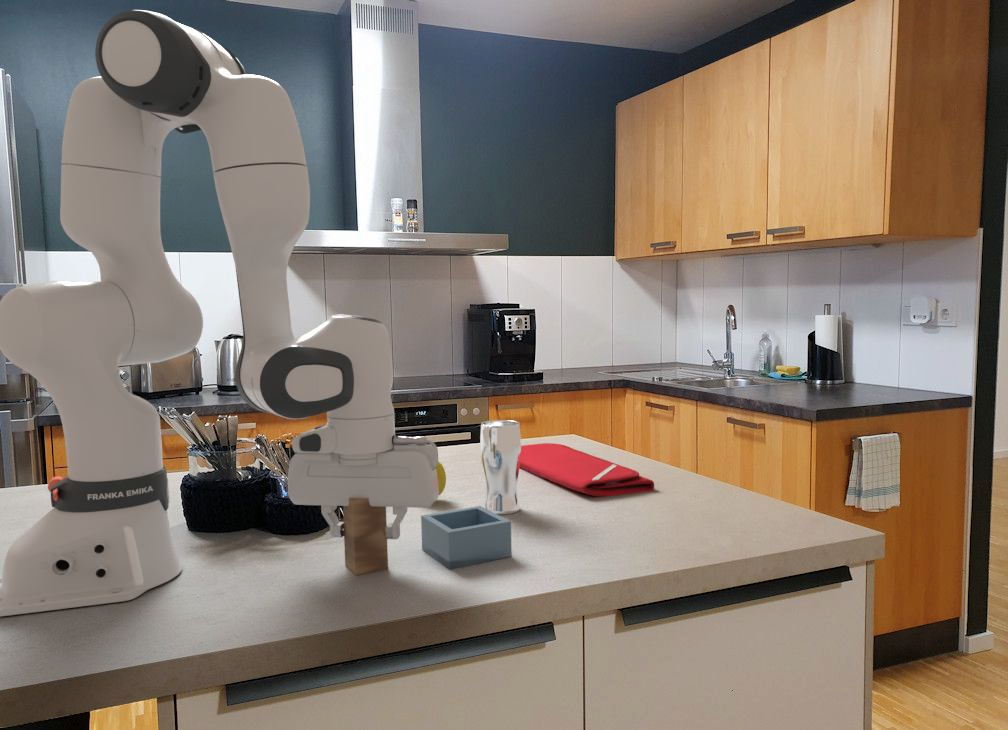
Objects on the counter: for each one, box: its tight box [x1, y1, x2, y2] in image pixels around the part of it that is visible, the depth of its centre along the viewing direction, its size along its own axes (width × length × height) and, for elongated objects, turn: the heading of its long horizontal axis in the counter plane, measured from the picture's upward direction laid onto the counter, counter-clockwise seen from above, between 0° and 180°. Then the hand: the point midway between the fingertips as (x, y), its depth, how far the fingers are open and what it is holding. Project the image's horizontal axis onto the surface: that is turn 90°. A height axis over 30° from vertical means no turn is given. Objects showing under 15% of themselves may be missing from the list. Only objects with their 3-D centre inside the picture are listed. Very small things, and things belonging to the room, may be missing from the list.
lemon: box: [436, 460, 447, 496], centre depth 136 cm, size 6×6×8 cm
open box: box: [420, 505, 512, 570], centre depth 107 cm, size 10×10×5 cm
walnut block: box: [342, 498, 389, 576], centre depth 102 cm, size 4×4×10 cm
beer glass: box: [479, 419, 522, 516], centre depth 129 cm, size 7×7×15 cm
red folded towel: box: [519, 442, 655, 498], centre depth 156 cm, size 16×41×4 cm, turn 22°
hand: (365, 537), depth 102 cm, fingers closed on walnut block, 6 cm apart
